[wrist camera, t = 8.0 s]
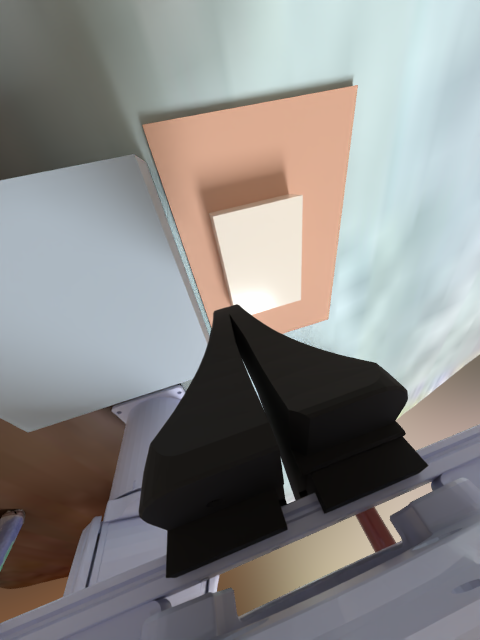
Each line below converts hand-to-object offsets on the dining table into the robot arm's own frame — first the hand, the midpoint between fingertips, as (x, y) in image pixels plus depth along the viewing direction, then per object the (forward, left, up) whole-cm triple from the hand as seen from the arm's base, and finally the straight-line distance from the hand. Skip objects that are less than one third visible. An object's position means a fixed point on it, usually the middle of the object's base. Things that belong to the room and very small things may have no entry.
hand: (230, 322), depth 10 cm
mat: (0, -5, -8) cm, 9 cm away
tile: (0, -4, -5) cm, 7 cm away
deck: (0, +10, -8) cm, 12 cm away
